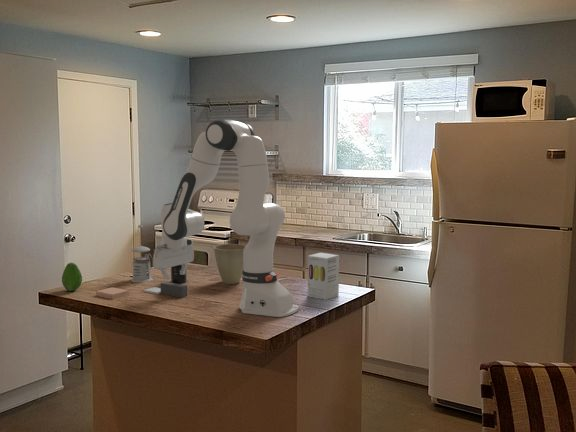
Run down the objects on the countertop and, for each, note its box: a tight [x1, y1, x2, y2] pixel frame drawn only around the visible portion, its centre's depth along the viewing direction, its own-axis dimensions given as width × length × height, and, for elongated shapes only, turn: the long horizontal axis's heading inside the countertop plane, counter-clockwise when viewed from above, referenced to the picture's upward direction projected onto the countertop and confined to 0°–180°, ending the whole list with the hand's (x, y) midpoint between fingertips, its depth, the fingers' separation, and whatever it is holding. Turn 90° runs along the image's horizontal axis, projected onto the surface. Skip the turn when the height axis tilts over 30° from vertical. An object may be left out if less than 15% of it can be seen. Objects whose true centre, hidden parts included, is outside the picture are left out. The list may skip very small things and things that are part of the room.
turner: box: [143, 281, 188, 298], centre depth 243 cm, size 20×6×4 cm, turn 57°
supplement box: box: [307, 252, 340, 301], centre depth 238 cm, size 10×9×17 cm
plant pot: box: [213, 243, 247, 285], centre depth 262 cm, size 15×15×16 cm
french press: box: [130, 224, 154, 283], centre depth 265 cm, size 10×12×25 cm
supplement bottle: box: [170, 265, 188, 284], centre depth 262 cm, size 7×7×12 cm
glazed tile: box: [95, 287, 130, 300], centre depth 240 cm, size 2×8×10 cm
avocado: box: [61, 262, 83, 292], centre depth 246 cm, size 8×8×12 cm
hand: (174, 276), depth 239 cm, fingers open, 8 cm apart
